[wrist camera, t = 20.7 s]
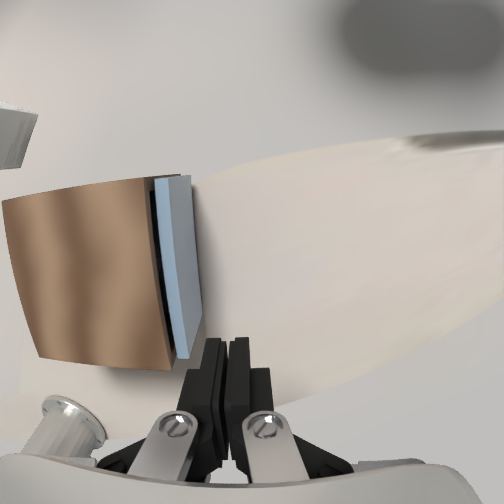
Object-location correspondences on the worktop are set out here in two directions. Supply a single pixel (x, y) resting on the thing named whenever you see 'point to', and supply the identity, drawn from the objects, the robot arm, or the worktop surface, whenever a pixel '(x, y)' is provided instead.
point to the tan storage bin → (91, 274)
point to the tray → (177, 258)
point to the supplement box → (14, 134)
